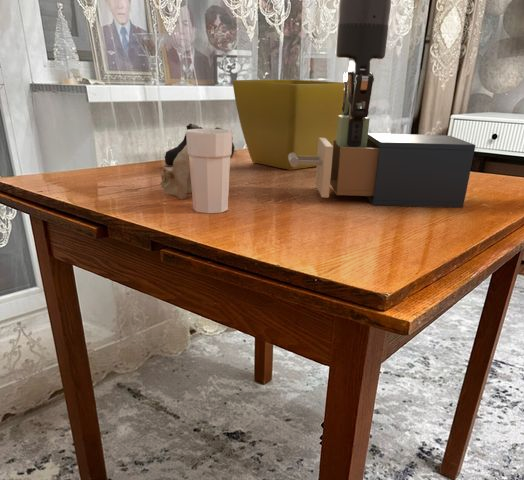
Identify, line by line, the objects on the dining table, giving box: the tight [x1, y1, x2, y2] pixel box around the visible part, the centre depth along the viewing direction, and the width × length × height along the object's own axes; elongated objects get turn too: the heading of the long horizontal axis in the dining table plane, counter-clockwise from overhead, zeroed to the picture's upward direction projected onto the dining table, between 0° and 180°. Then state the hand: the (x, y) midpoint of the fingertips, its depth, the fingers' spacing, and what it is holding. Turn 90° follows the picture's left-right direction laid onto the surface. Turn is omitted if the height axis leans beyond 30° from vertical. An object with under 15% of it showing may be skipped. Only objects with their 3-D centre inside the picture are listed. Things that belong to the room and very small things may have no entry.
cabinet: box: [365, 132, 476, 209], centre depth 90 cm, size 15×13×10 cm
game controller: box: [164, 123, 236, 167], centre depth 112 cm, size 16×7×10 cm, turn 43°
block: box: [336, 115, 371, 148], centre depth 88 cm, size 4×4×4 cm
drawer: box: [288, 138, 379, 199], centre depth 90 cm, size 19×11×8 cm, turn 90°
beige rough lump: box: [160, 144, 192, 200], centre depth 88 cm, size 9×6×10 cm
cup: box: [185, 128, 233, 214], centre depth 79 cm, size 7×7×11 cm
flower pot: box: [232, 79, 344, 171], centre depth 118 cm, size 19×19×17 cm
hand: (351, 143), depth 89 cm, fingers closed on block, 4 cm apart
